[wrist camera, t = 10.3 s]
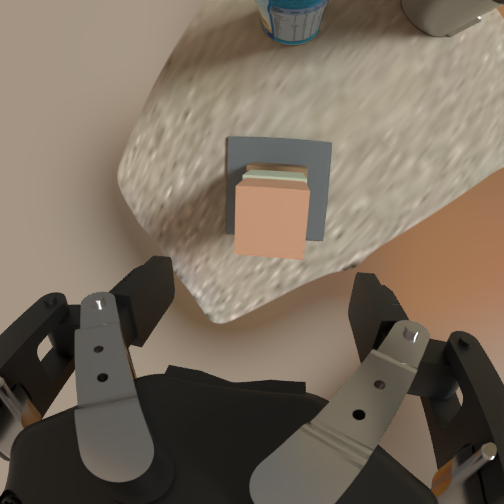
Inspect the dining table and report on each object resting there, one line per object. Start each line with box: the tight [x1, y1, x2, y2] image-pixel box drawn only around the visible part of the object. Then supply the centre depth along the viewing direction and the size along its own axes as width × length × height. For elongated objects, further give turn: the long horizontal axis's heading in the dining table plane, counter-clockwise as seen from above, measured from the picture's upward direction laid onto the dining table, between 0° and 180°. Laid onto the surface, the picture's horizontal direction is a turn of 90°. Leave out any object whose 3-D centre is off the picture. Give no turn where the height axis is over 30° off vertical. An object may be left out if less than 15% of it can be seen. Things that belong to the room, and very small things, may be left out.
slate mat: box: [226, 137, 332, 241], centre depth 37 cm, size 14×14×1 cm
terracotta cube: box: [234, 178, 310, 260], centre depth 24 cm, size 6×6×6 cm
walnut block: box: [246, 162, 308, 178], centre depth 34 cm, size 7×7×6 cm
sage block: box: [243, 170, 307, 184], centre depth 29 cm, size 6×6×6 cm
